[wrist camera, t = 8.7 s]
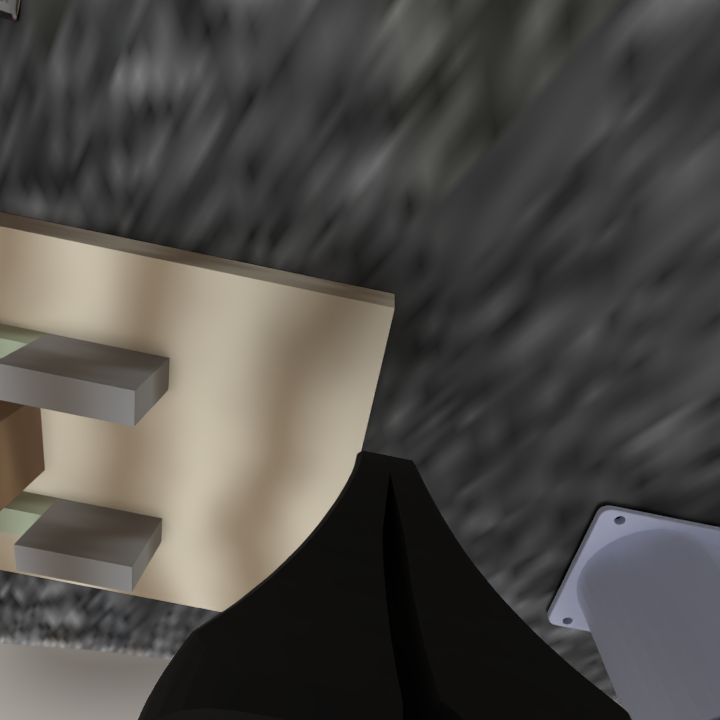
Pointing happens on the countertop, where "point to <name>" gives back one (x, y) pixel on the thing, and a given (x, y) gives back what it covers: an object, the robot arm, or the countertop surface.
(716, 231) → the countertop surface
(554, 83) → the countertop surface
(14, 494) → the walnut block
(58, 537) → the board
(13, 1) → the candy bar box
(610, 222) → the countertop surface
